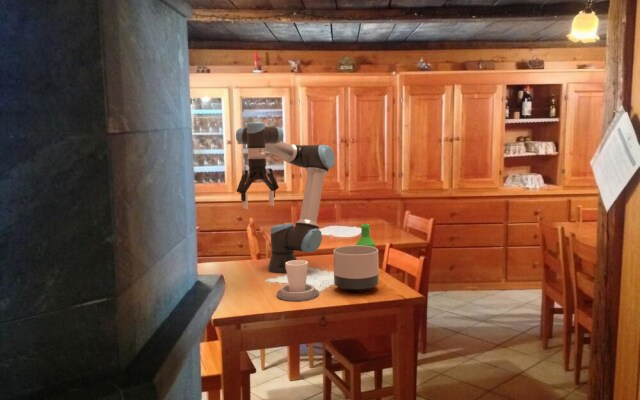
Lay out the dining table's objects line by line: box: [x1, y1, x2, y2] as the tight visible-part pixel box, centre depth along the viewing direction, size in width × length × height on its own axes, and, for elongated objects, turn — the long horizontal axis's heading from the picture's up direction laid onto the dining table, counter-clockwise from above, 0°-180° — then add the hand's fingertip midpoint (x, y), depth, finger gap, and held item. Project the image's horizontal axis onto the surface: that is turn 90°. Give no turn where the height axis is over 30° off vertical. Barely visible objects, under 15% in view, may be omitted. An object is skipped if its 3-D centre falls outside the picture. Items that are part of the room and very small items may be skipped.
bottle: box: [355, 223, 376, 248], centre depth 254 cm, size 9×9×25 cm
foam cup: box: [285, 259, 309, 292], centre depth 227 cm, size 10×9×13 cm
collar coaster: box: [276, 283, 320, 302], centre depth 228 cm, size 18×18×3 cm
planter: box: [332, 244, 380, 293], centre depth 233 cm, size 19×19×18 cm
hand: (258, 207), depth 233 cm, fingers open, 13 cm apart
